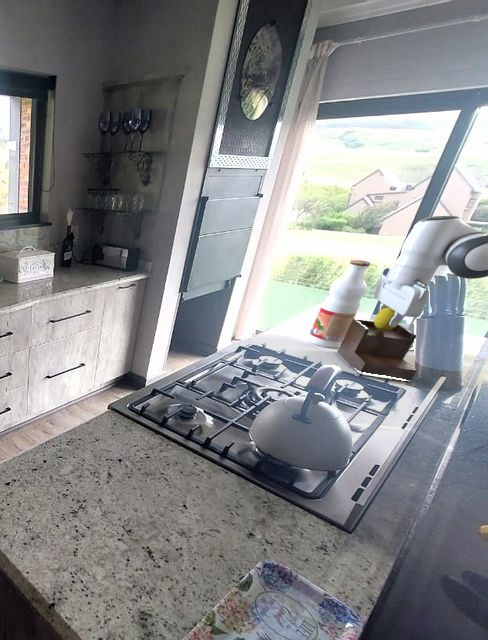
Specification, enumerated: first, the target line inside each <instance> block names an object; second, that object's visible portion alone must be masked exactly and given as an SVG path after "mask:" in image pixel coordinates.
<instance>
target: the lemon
mask: <svg viewBox="0 0 488 640" xmlns="http://www.w3.org/2000/svg"><path fill="white" fill-rule="evenodd" d="M394 313H395V311H394V310H393V309H391V308H390V307H388V308H384V309H382V310H381V311H380V312H379V311H378V312H377V314H376V315H375V317H374V320H373V321H374V324H375V326H376V327H377V328H378V329H379V330H380V331H381V332H383V331H385V330H391V329H393V328H395V327H393V326H390V325H388V322H389V319H392V318H393V317H394ZM399 322H400V321H399ZM398 324H399V323H398Z"/></svg>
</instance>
